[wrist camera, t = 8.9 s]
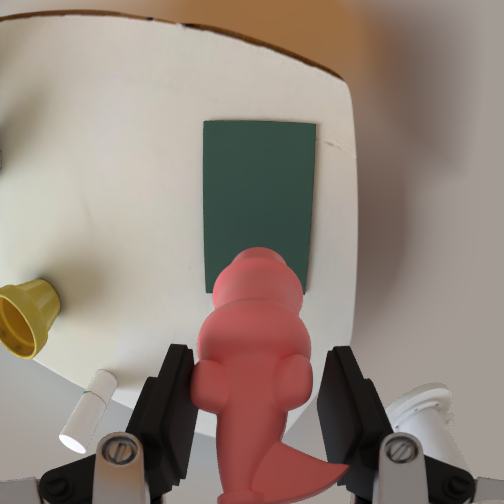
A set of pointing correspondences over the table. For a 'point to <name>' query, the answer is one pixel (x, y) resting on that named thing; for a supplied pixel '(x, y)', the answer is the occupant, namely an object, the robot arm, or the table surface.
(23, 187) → the table surface
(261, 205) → the mat
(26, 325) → the flower pot
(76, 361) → the table surface
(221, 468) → the figurine
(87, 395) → the tube
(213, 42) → the table surface
